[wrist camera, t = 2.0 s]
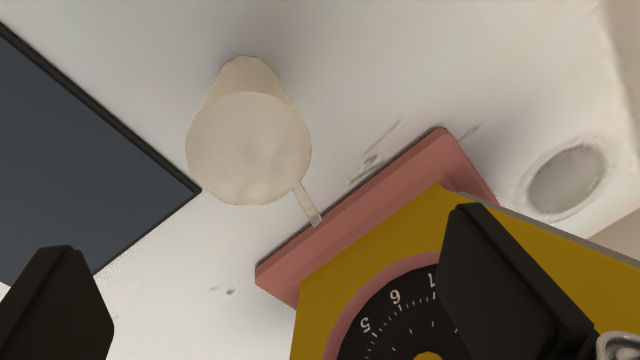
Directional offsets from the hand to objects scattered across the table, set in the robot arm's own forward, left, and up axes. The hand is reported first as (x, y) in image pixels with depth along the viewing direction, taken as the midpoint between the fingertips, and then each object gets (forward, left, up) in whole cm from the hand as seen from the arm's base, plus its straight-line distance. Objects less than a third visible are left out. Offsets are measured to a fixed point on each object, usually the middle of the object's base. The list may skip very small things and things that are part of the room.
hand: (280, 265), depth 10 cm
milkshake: (0, 0, -14) cm, 14 cm away
